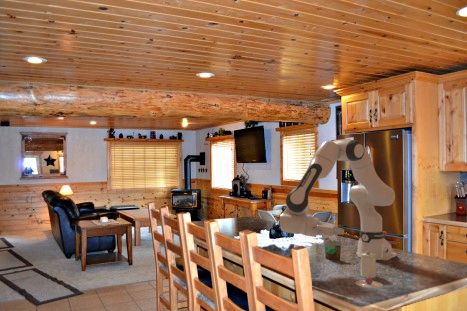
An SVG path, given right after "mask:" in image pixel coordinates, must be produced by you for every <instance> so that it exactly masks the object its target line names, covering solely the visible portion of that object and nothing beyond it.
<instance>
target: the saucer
mask: <svg viewBox="0 0 467 311" xmlns="http://www.w3.org/2000/svg"><path fill="white" fill-rule="evenodd" d="M354 284H355V285H357V286H359V287H362V288H367V289H380V288H382V287H383V286H384V284H383V283H381V282H379V281H377V280H373V282H372V283H371V284H367V283H366V281H365V279H361V280H359V279H358V280H356V281H355V283H354Z"/></svg>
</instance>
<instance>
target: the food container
mask: <svg viewBox="0 0 467 311" xmlns="http://www.w3.org/2000/svg"><path fill="white" fill-rule="evenodd" d="M322 243H323V244H324V254H325V259H326V260H330V261H341V253H342V252H341V251H342V246H343V245H342V241H338V240H337V241H336V240H334V239H330V237H324V239H323V242H322Z"/></svg>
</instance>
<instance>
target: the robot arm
mask: <svg viewBox="0 0 467 311" xmlns="http://www.w3.org/2000/svg"><path fill="white" fill-rule="evenodd" d="M337 161H339V162H340V161H341V162H348V163H349V167H350V168H351V169H350V170H351V172H352V174H353V175H352V176H353V177H354V180H355V181H356V182H358V184H356V185H352V186H351V187H350V188H349V191H348V196H349V199H350V201H351V202H352V203H354V205H355V206H356V208H357V210H358V213H359V218H360V230H359V237H360V238H359V239H358V245H357V251H356V252H355V253H356V255H357V257H358V258H359V259H361V253H366V251H370V253H373V254H375V257H376V261H389V260H391V259H393V258H395V257H397V253H396V252H393V251H392V250H393V249H392V244H391V243H390V242H389V241H388V240H387V239H385V236H386V235H388V234H387V233H388V232H387V231H385V230H383V216H382V215H381V214H380V213H379V212H378V211H377V210H376V209H375V206H376V207H386V206H388V207H389V206H391V205H392V204H393V203H394V201H395V198H396V193H395V191H394V189H393V188H392V187H390V186H389V185H387V184H386V183H384V181H383V180H382V179H381V178H380V177H379V175H378V173H377V172H376V169H375V166H374V165H373V161H372V158H371V155H370V153H369V151H368V149H367V148H366V146H365V145H364V143H362V142H361V141H359V140H357V139H345V138H343V139H331V140H326V141H323V142H322V143H321V144H320V146H319V147H318V148H317V149H316V151H315V152H314V154H313V155H312V158H311V160H310V162H309V164H308V167H307V169H306V171H305V173H304V174H303V176H302V177H301V179H300V180H299V183H298V184H297V185H296V186H295V188H293V189H292V190H291V191H289V192H288V193H287V195H286V197H285V204H286V208H285V209H284V211H283V212H282V213H280V214H279V217H278V225H279V227H280V230H281V231H283V232H285V233H289V234H294V235H303V236H305V237H307V236H308V237H312V238H317V236H320V235H321V236H322V235H323V236H328V237H329V236H330V237H331V236H334V235H345V228H344V227H343V228H342V227H338V226H336V225H335V224H334V223H330V222H326V221H321V220H320V219H319V217H313V216H308V214H309V211H310V204H309V195H310V193H311V191H312V189H313V188H314V185H316V183H317V181H318V180H319V179H325V178H327V177H328V176H329V174H330V173H331V172H332V171H333V168H334V167H335V164H336V162H337Z"/></svg>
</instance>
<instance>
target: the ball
mask: <svg viewBox="0 0 467 311" xmlns="http://www.w3.org/2000/svg"><path fill="white" fill-rule="evenodd" d="M364 280H365V281H366V283H367V284H371V283H372V282H373V281H374V280H373V278H371V277H366V278H365V279H364Z"/></svg>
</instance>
